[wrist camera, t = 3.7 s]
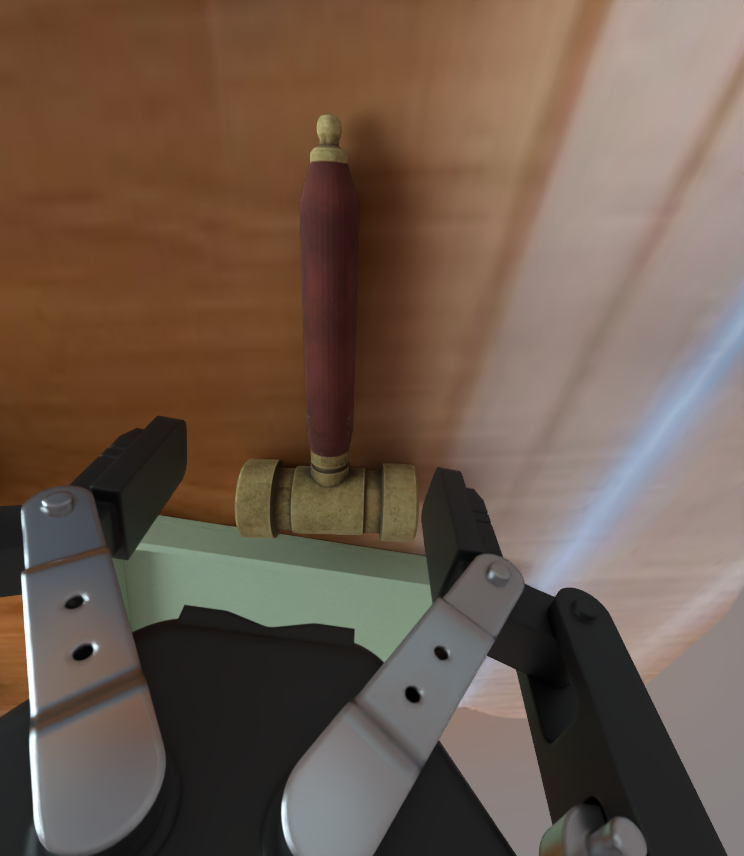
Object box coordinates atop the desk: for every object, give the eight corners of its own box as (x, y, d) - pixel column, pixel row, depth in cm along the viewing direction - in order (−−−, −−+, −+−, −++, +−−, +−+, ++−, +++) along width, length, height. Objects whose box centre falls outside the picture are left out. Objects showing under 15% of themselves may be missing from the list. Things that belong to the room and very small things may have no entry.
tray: (128, 640, 35) (112, 671, 33) (112, 507, 28) (89, 535, 26) (429, 677, 38) (433, 708, 36) (485, 565, 31) (494, 594, 28)
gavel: (178, 89, 14) (466, 105, 15) (220, 119, 18) (444, 131, 19) (238, 554, 24) (414, 559, 24) (257, 505, 28) (407, 510, 28)
